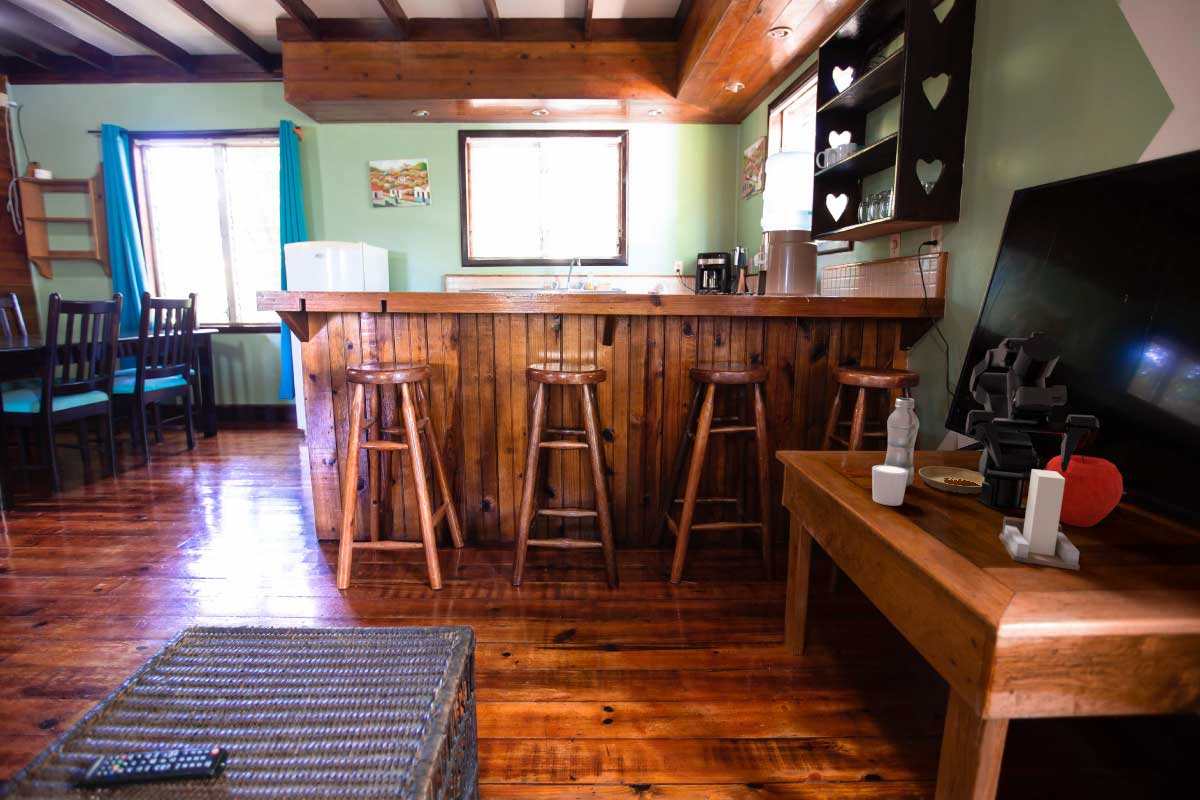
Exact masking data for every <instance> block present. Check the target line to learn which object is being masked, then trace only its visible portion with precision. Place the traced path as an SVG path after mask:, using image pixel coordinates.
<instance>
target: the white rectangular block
mask: <svg viewBox="0 0 1200 800" xmlns="http://www.w3.org/2000/svg"><path fill="white" fill-rule="evenodd" d="M1064 484H1065V478H1064V477H1062V476H1061V475H1060V474H1059V473H1058V472H1056V471H1046V470H1044V469H1043V470H1042V469H1032V471H1031V478H1030V482H1029V487H1028V493H1027V494H1028V496H1027V501H1026V507H1027V508H1026V510H1025V517H1024V519H1025V523H1024V530H1023V537H1024V538H1025V540H1026V541H1027V543H1028V544H1029V550H1028V552H1032V553H1039V554H1046V555H1052V556H1054V552H1055V545H1056V539H1057V532H1058V525H1059V522H1060V520H1059V518H1060V511H1061V504H1062V498H1063V491H1064Z"/></svg>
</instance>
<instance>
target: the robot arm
mask: <svg viewBox="0 0 1200 800" xmlns="http://www.w3.org/2000/svg"><path fill="white" fill-rule="evenodd" d="M1062 350H1063V348H1062V345H1060V343H1058V342H1057V340H1054V339H1053V338H1052V337H1047V332H1042V331H1041V332H1040V331H1039V332H1036V331H1035V332H1034V331H1033V332H1032V333H1031V335H1030V337H1028V338H1021V337H1019V338H1016V337H1015V338H1014V337H1005V338H1004V339H1003V340H1002V341H1001V342H1000V343H999V345H998V347H997V348H991V349H988V350H986V354H985V357H984V358H983V359H982V360H981V361H980V362H978V364H977V363H976V365H975V366H974V367H973V370H972V372H971V373H972V374H971V377H970V381H969V391H970V392H971V393H972V395H973V398H974V400H975V401H976V402H978V403H979V404H981V405H983V406H984V410H982V409H981V410H980V409H979V410H978V409H971V410H970V411H969V412H968V414H967V418H966V423H965V436H967V437H969V438H973V439H974V441H976V442H980V443H981V444H982V446H983V447H984V450H983V452H982V454H981V456H980V458H979V462H978V463H979V464H978V473H981V475H982V476H983V477H984V482H982V488H981V492H980V496H979V497H976V498H975V499H976V501H978V502H980V503H982V504H983V505H986V506H988V507H991V508H992V509H994V510H996V511H1026V508H1027V505H1025V504H1022V503H1023V496H1024V490H1025V482H1029V483H1030V478H1031V471H1032V469H1036V470H1038V469H1037V468H1038V466H1039V464H1040V459H1039V458H1038V453H1037V452H1036V451H1034V448H1033V447H1034V445H1033V444H1032V440H1031V435H1029V433H1030V432H1031V433H1043V434H1044V433H1045V434H1061V437H1062V442H1061V444H1060V452H1061V453H1060V455H1061V468H1062V472H1066V470H1067V467H1068V464H1069V461H1070V459H1071V456H1072V455H1073V453H1074V450H1075V449H1079V448H1080V449H1081V448H1083V447H1084V445H1085V446H1087V445H1091V444H1092V443H1093V442H1094V440H1095V438H1096V436H1097V434H1098V432H1099V431H1100V421H1099V419H1098V418H1097V417H1096V416H1094V415H1087V414H1086V415H1085V414H1068V415H1067V417H1066V420H1065V421H1051V420H1049V419H1048V418H1050V417H1052V415H1053V411H1052V408H1053V407H1054V406H1063V405H1065V404H1066V403H1067V400H1068V393H1067V387H1066V385H1063V384H1062V385H1060V384H1059V385H1057V384H1056V385H1055V384H1054V385H1052V386H1051V387H1046V383H1045V382H1046V381H1045V378H1048V377H1050V375H1051V373H1052V371H1053V369H1054V367H1055V366H1056V363H1057V362H1058V360H1059V358H1060V356H1061V354H1062V353H1063V352H1062ZM990 368H1008V369H1009V370H1008V371H1007V373H1002V372H987V371H988V370H989V369H990ZM1018 431H1020V432H1018ZM1027 432H1028V433H1027Z"/></svg>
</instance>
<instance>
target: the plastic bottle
mask: <svg viewBox="0 0 1200 800" xmlns="http://www.w3.org/2000/svg"><path fill="white" fill-rule="evenodd" d="M894 407H895V410H894V411H893V412H892V413H890V415H889V416H888V419H887V422H886V425H887V450H886V456H885V460H884V464H883V465H890V466H897V467H901V468H904V469H906V470H908V471H909V473H908V478H907V483H906V487H909V486H911V484H912V483H913V482H914V478H915V469H914V452H915V451H914V450H915V443H916V439H917V435H918V432H919V428H920V422H919V421H920V420H919V418H918V416H917V414H916V413H915V412H914V410H913V409H915V399H914V398H909V397H897V398H896V399H895V404H894Z"/></svg>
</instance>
